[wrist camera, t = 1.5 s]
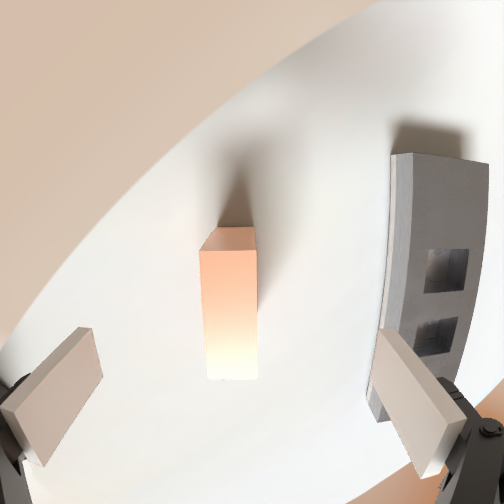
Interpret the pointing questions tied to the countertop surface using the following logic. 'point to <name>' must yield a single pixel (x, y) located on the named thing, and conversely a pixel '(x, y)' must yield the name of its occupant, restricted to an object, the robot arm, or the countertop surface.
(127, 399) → the countertop surface
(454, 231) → the rail
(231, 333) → the tall peach block
